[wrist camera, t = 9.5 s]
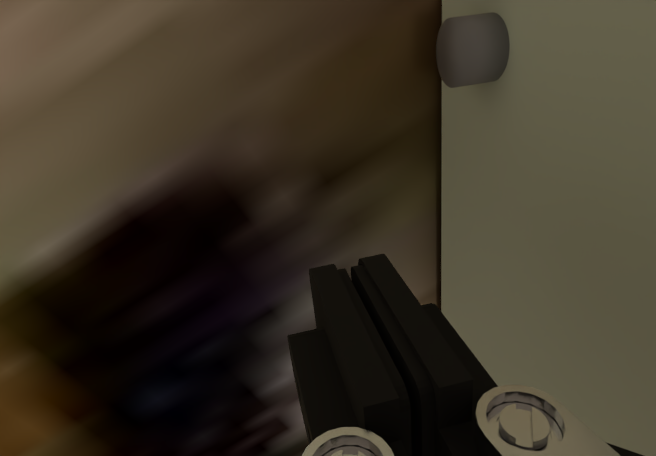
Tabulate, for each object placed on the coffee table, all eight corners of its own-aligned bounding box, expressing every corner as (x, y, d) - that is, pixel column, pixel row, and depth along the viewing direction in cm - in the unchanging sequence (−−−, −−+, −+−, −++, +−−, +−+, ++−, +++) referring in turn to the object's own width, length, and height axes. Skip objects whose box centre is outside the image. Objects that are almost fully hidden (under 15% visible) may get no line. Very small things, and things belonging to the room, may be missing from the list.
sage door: (400, -21, 15) (820, -98, 5) (480, -30, 15) (1016, -117, 5) (414, 426, 24) (572, 736, 14) (465, 412, 24) (655, 701, 14)
